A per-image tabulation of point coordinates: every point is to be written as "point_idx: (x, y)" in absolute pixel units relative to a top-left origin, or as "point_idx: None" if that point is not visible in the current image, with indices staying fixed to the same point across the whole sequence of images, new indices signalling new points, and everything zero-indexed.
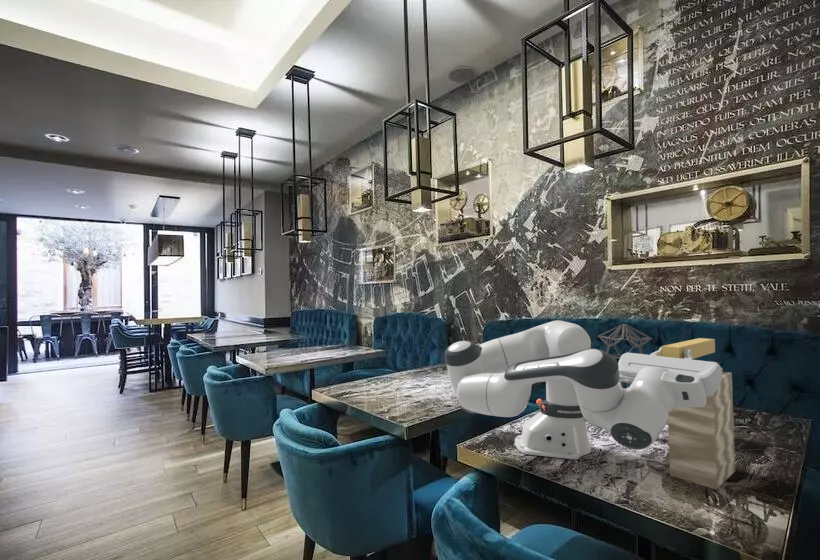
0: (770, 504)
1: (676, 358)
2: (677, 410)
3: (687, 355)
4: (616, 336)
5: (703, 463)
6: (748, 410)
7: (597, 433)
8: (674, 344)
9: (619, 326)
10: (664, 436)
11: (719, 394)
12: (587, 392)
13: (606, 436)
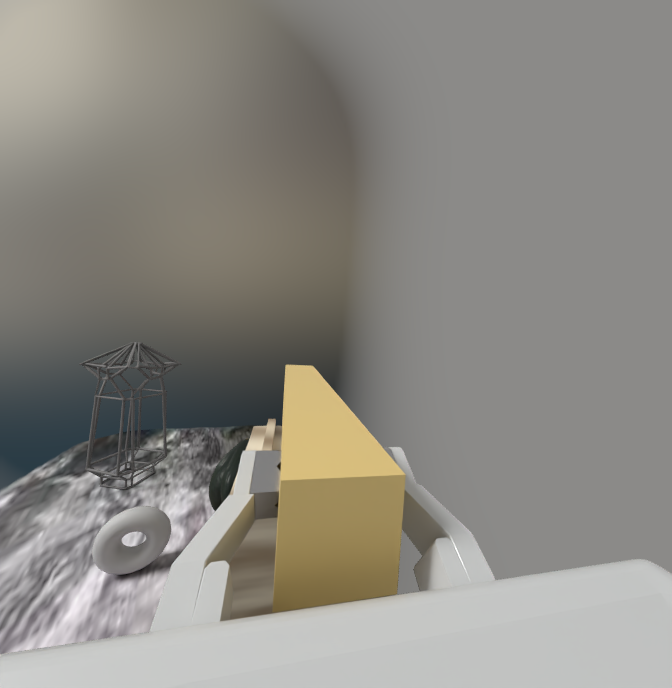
0: None
1: (438, 618)
2: (251, 609)
3: (428, 507)
4: (122, 362)
5: None
6: (266, 425)
7: (5, 639)
8: (299, 413)
9: (127, 346)
10: (190, 535)
11: None
12: None
13: (34, 640)
